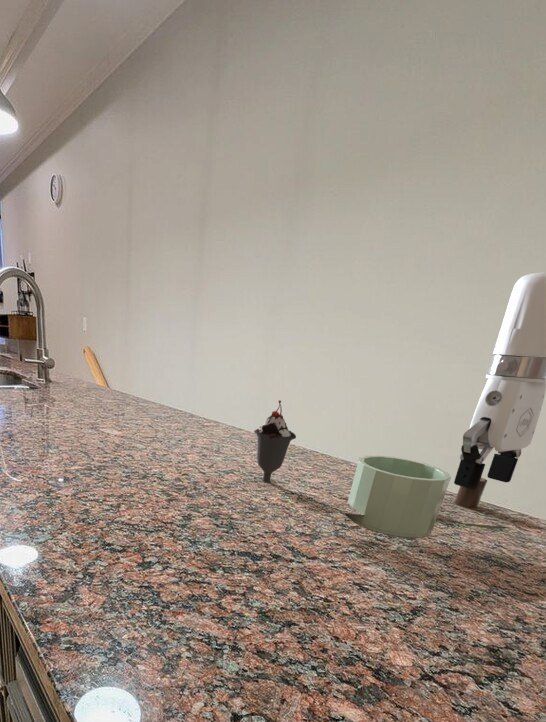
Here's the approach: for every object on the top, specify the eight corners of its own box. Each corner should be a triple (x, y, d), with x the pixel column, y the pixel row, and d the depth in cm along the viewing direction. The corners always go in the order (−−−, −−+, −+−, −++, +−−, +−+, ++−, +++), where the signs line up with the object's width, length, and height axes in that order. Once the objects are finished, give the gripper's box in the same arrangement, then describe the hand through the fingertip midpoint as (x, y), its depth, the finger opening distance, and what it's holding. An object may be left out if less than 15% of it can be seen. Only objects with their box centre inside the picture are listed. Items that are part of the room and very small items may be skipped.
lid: (454, 499, 81) (466, 465, 78) (529, 529, 69) (546, 490, 67) (400, 502, 76) (411, 466, 74) (470, 535, 65) (486, 494, 63)
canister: (386, 503, 75) (401, 455, 72) (450, 534, 65) (470, 479, 61) (328, 507, 71) (341, 455, 68) (386, 540, 61) (404, 481, 57)
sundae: (269, 483, 80) (285, 398, 74) (292, 497, 74) (311, 406, 68) (237, 485, 78) (251, 397, 72) (258, 499, 72) (275, 405, 66)
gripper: (519, 372, 57) (477, 497, 63) (578, 372, 65) (535, 484, 71) (459, 367, 63) (426, 482, 69) (519, 368, 71) (485, 471, 77)
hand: (482, 483), depth 70 cm, fingers open, 9 cm apart
